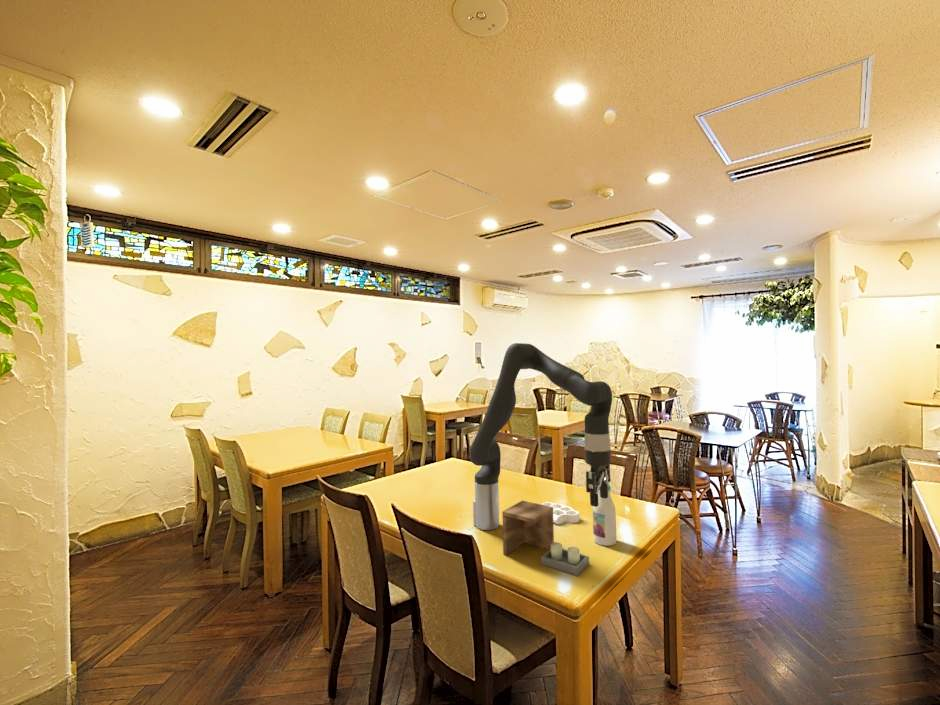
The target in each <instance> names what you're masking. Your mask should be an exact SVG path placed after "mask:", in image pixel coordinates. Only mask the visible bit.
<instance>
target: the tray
mask: <svg viewBox="0 0 940 705" xmlns="http://www.w3.org/2000/svg"><path fill="white" fill-rule="evenodd" d="M540 563H541V564H540V566H544V567H546V568H550V569H552V570H556V571H560V572H563V573H566V574H568V575H572V576H575V577H578V576H579V575H580V574H581V573H582V572H583V571H584V570H585V569H586V568H587V567H588V566H589V565H590V556H588V555H586V554H582V553H580V563H579V564H577V565H576V566H573V565H570V564H568V549H565V548H562V562H560V561H557V560H554V559H551V549H550V550H549V549H548V551H547V552H545V553H544V554H543V555H542V556H541V557H540Z"/></svg>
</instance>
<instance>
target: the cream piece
mask: <svg viewBox="0 0 940 705" xmlns="http://www.w3.org/2000/svg"><path fill="white" fill-rule="evenodd" d="M567 550H568V564H570V565H573V566H576V565H577V564H579V563H580V554H581V553H580V552H581V551H580V548H578V547H576V546H570V547H567Z"/></svg>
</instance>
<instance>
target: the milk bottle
mask: <svg viewBox="0 0 940 705" xmlns="http://www.w3.org/2000/svg"><path fill="white" fill-rule="evenodd" d="M598 503H599V505H598V506H597V507H595V506H592V531H593V532H592V536H593V541H594V543H596V544H598V545H600V546H604V547H611V546H614V545H616V543H617V517H616V516H617V515H616V512H617V511H616V506H615V503H614V502H613V499H612V496H611V484H609V485H608V498H601V497H600V487H599V490H598Z"/></svg>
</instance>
